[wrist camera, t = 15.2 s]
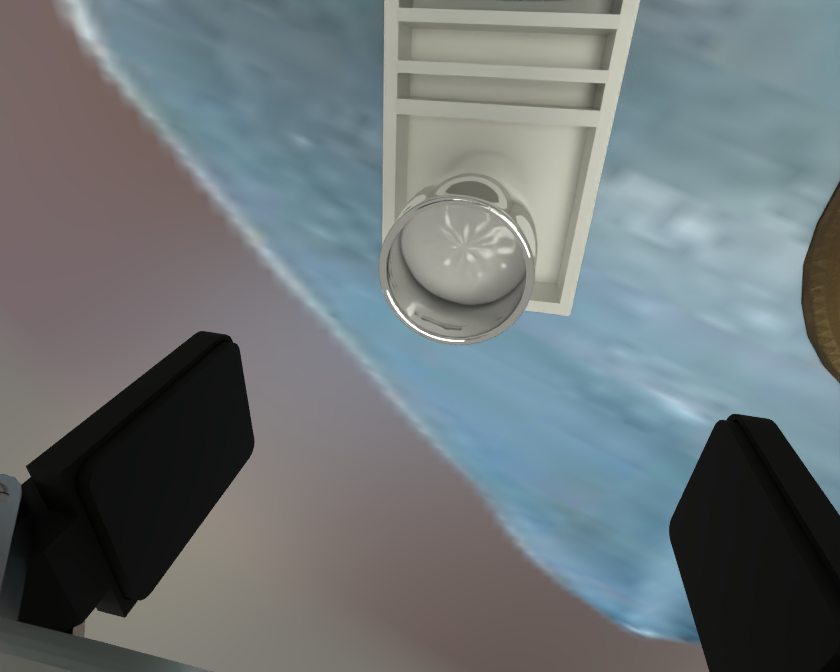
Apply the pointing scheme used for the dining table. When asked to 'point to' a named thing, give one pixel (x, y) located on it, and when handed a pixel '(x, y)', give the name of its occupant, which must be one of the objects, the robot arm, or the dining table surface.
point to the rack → (508, 109)
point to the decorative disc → (824, 287)
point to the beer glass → (463, 253)
